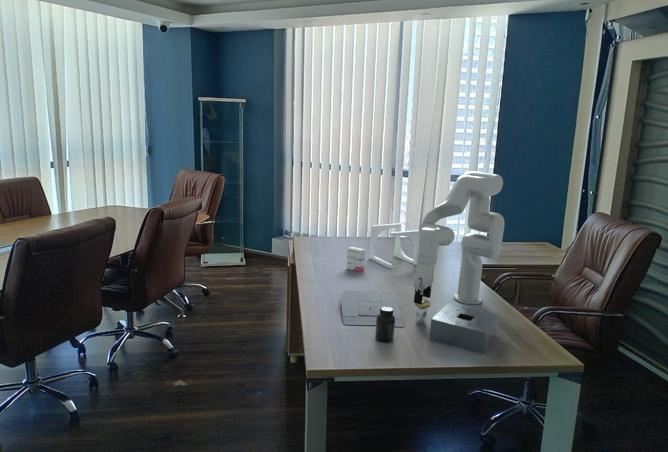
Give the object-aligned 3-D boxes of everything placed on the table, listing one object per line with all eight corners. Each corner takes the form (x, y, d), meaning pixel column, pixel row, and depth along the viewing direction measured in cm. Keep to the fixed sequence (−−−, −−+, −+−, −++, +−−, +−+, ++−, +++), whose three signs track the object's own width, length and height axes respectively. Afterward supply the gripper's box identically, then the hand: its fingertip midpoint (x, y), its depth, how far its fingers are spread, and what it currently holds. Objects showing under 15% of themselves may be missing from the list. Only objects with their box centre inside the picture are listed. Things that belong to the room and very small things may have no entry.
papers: (393, 297, 224) (394, 290, 223) (403, 333, 196) (404, 325, 195) (339, 295, 223) (340, 288, 222) (342, 330, 195) (343, 322, 194)
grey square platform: (445, 322, 203) (448, 303, 201) (495, 334, 193) (498, 315, 192) (429, 339, 186) (431, 318, 184) (482, 354, 176) (485, 332, 175)
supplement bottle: (392, 335, 188) (394, 305, 185) (394, 343, 181) (397, 312, 179) (374, 334, 188) (376, 304, 185) (376, 342, 181) (378, 311, 178)
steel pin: (416, 319, 204) (418, 297, 202) (430, 323, 201) (432, 301, 199) (410, 324, 199) (412, 301, 197) (425, 327, 196) (427, 305, 194)
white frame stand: (417, 264, 282) (421, 230, 278) (389, 268, 272) (392, 233, 268) (396, 255, 299) (399, 223, 295) (369, 258, 289) (371, 225, 285)
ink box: (364, 270, 266) (366, 248, 264) (360, 272, 262) (361, 250, 260) (350, 266, 271) (352, 246, 268) (346, 268, 267) (347, 247, 264)
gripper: (425, 253, 203) (420, 292, 207) (409, 261, 189) (405, 303, 192) (442, 256, 200) (438, 296, 203) (428, 265, 185) (423, 308, 188)
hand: (422, 300), depth 197 cm, fingers open, 9 cm apart
